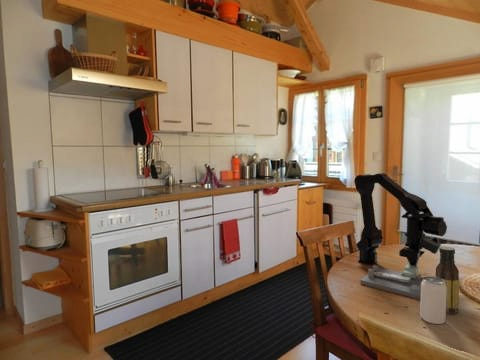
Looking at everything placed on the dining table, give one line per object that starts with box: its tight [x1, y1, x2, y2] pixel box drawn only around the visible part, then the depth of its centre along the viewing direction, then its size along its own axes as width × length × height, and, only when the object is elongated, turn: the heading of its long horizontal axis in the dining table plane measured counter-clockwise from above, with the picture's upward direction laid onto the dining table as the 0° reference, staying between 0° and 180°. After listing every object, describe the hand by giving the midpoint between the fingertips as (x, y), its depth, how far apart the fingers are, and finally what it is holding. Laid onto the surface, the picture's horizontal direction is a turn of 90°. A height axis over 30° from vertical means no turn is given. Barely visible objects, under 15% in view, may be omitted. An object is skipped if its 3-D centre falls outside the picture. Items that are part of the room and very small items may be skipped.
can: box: [419, 276, 447, 325], centre depth 94 cm, size 6×6×12 cm
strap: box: [374, 271, 411, 282], centre depth 120 cm, size 14×3×1 cm, turn 48°
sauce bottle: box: [434, 245, 460, 315], centre depth 99 cm, size 6×6×20 cm
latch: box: [402, 264, 419, 279], centre depth 121 cm, size 4×6×4 cm, turn 138°
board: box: [360, 264, 424, 301], centre depth 119 cm, size 22×17×4 cm
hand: (413, 269), depth 125 cm, fingers closed
